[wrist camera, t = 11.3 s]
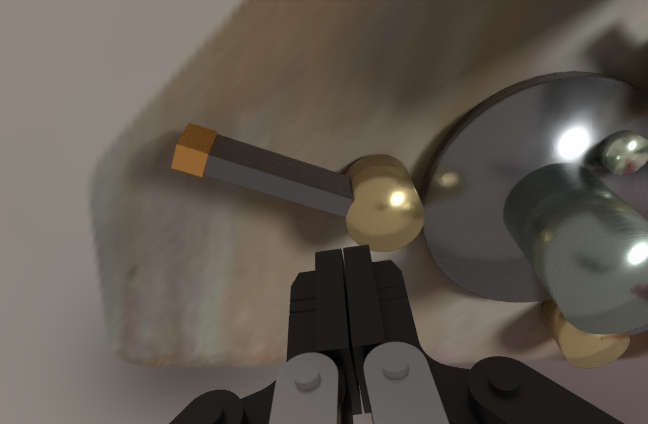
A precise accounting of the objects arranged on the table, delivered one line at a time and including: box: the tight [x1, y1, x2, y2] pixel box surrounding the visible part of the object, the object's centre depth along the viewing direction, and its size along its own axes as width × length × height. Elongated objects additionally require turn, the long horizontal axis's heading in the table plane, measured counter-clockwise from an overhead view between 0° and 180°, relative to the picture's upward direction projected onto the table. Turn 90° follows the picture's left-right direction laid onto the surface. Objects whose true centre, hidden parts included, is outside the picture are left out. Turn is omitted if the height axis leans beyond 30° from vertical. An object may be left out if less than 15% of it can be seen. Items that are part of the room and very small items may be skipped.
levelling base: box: [420, 71, 648, 369], centre depth 27 cm, size 23×19×10 cm
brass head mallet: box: [171, 123, 425, 252], centre depth 27 cm, size 14×4×4 cm, turn 70°
